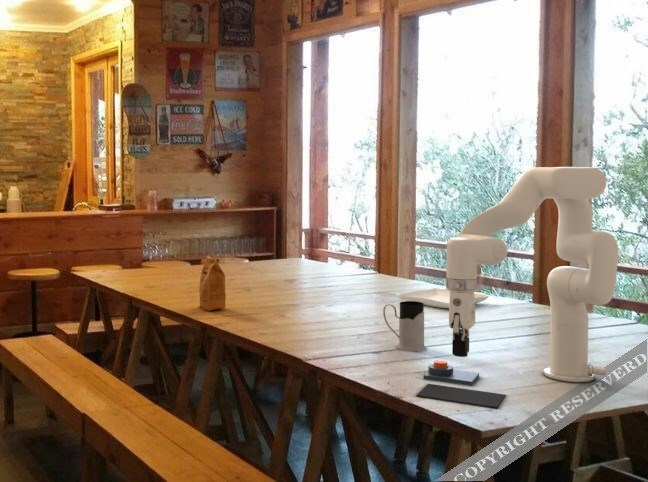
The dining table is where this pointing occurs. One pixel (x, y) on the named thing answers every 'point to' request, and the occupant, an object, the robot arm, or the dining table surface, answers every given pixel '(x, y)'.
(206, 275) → the coffee package
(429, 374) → the grey button base
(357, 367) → the dining table surface
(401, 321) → the glass holder
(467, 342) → the battery
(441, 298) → the square plate
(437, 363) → the button
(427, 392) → the desk pad
